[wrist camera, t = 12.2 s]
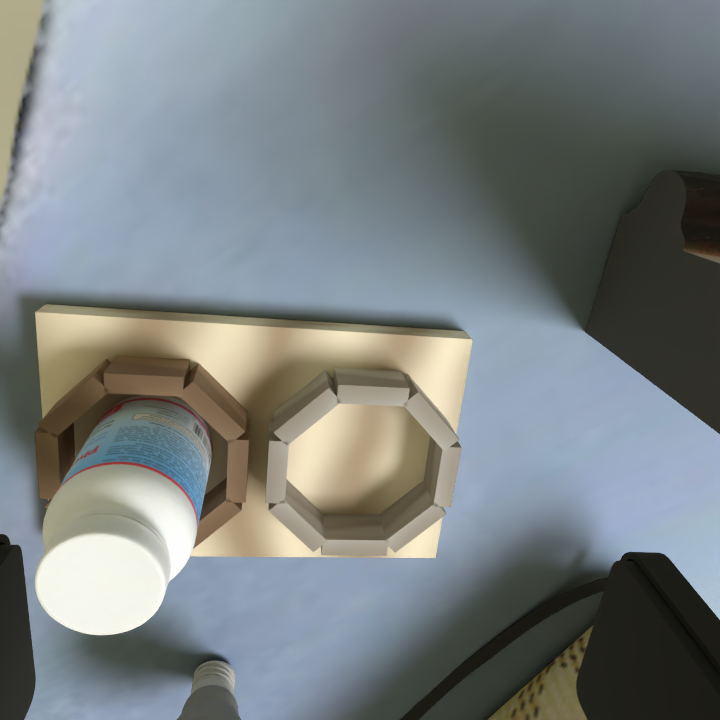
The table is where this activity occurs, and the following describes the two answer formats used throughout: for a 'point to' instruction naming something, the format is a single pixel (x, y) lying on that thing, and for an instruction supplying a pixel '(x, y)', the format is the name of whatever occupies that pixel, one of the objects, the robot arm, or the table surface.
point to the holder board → (263, 382)
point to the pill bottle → (125, 516)
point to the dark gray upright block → (668, 291)
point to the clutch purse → (547, 689)
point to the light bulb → (212, 693)
